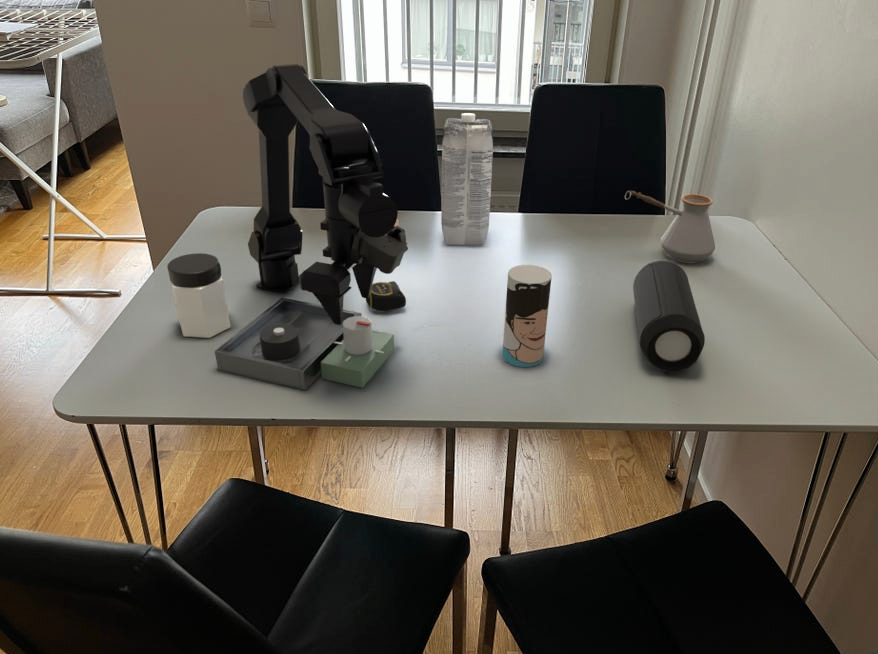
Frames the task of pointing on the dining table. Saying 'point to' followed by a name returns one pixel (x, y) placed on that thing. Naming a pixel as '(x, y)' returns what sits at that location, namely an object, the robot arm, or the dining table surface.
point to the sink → (311, 336)
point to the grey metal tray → (274, 370)
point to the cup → (526, 315)
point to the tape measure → (386, 297)
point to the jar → (199, 295)
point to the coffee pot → (686, 228)
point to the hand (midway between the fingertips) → (352, 310)
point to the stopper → (280, 341)
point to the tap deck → (357, 361)
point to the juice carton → (466, 180)
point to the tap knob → (357, 335)
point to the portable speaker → (667, 317)
